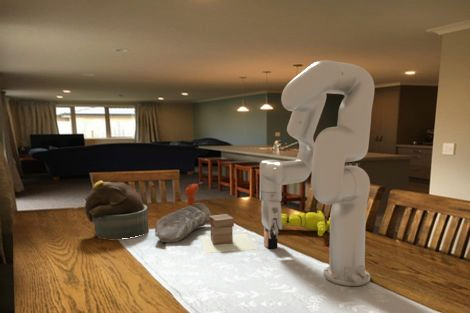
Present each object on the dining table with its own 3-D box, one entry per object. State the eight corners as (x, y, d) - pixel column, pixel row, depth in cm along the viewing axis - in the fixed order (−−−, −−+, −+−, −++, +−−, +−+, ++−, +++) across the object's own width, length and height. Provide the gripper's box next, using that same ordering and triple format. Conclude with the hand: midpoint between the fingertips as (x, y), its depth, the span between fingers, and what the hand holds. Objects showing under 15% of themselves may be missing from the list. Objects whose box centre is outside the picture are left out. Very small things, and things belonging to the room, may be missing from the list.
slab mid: (232, 235, 131) (232, 227, 131) (213, 236, 130) (213, 228, 130) (229, 230, 138) (229, 222, 138) (210, 231, 137) (210, 223, 137)
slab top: (233, 226, 132) (233, 218, 132) (215, 228, 129) (215, 220, 129) (226, 221, 138) (226, 214, 138) (209, 223, 136) (208, 215, 135)
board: (258, 251, 126) (258, 248, 126) (205, 255, 122) (205, 252, 122) (246, 235, 143) (246, 233, 143) (200, 238, 140) (200, 236, 140)
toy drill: (207, 204, 193) (206, 177, 190) (193, 217, 176) (191, 187, 173) (199, 204, 195) (197, 176, 192) (183, 216, 177) (181, 187, 174)
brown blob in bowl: (72, 237, 143) (69, 181, 141) (119, 222, 165) (118, 174, 163) (115, 246, 132) (112, 186, 130) (159, 228, 154) (158, 177, 152)
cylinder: (278, 250, 127) (278, 233, 126) (266, 250, 126) (266, 233, 126) (274, 245, 131) (274, 229, 131) (262, 246, 130) (262, 230, 130)
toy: (265, 240, 138) (348, 252, 132) (267, 216, 137) (351, 227, 131) (273, 220, 167) (341, 229, 161) (275, 200, 166) (344, 208, 160)
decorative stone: (182, 222, 165) (182, 200, 164) (214, 224, 160) (214, 202, 159) (144, 244, 134) (144, 217, 133) (182, 248, 130) (182, 220, 129)
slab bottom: (232, 243, 132) (232, 235, 131) (213, 244, 130) (213, 236, 130) (229, 237, 138) (229, 230, 138) (210, 239, 137) (210, 231, 137)
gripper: (289, 200, 120) (288, 254, 121) (273, 191, 136) (273, 239, 138) (266, 201, 118) (266, 256, 120) (254, 192, 135) (254, 240, 136)
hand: (270, 246), depth 129 cm, fingers closed on cylinder, 4 cm apart
